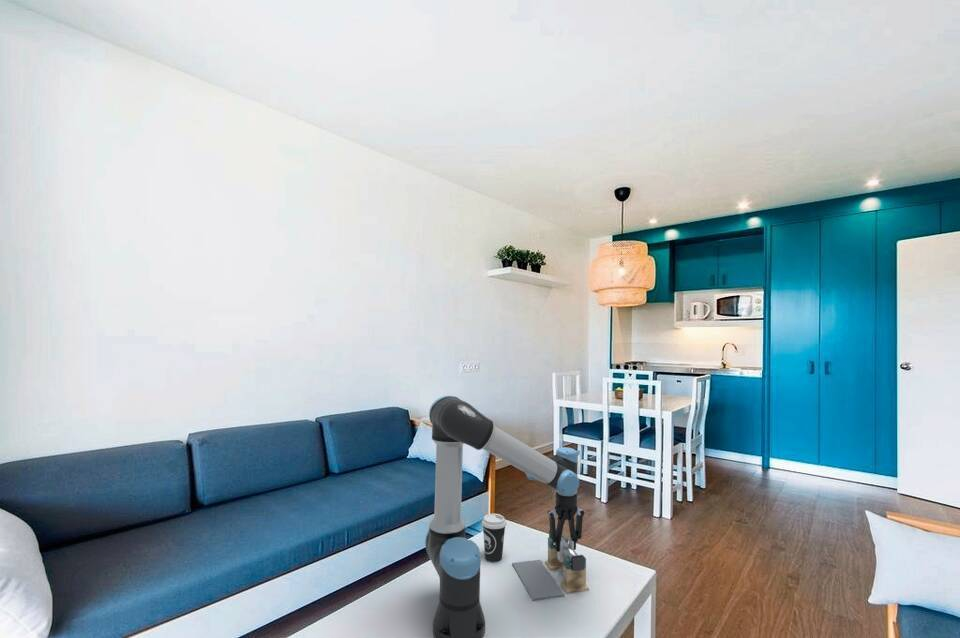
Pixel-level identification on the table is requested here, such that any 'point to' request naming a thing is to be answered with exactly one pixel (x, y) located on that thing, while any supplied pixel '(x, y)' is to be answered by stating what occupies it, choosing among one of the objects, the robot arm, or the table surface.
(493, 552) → the coffee cup
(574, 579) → the post near
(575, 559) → the rail
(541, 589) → the pad
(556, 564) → the post far
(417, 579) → the table surface
